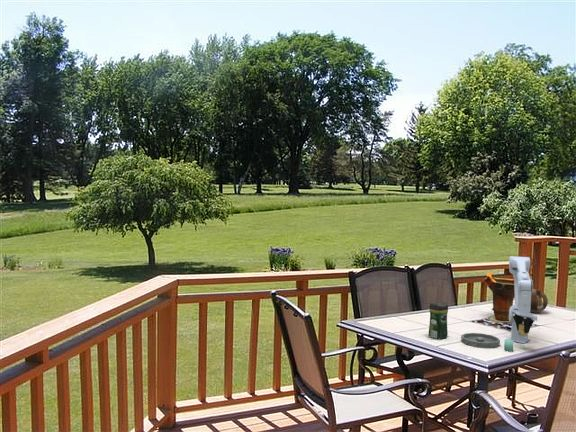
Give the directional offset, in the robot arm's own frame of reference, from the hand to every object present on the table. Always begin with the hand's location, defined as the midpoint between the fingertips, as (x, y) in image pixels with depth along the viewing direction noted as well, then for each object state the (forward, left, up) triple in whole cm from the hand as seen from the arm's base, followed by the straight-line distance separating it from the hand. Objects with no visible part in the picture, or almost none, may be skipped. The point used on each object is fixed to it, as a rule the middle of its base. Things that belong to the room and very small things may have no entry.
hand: (522, 331), depth 261 cm
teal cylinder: (+8, -4, -8) cm, 12 cm away
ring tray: (+5, -19, -8) cm, 21 cm away
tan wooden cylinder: (0, 0, -2) cm, 2 cm away
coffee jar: (+11, -39, -9) cm, 41 cm away
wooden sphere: (-88, -20, -9) cm, 91 cm away
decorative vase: (-53, -28, -9) cm, 61 cm away
